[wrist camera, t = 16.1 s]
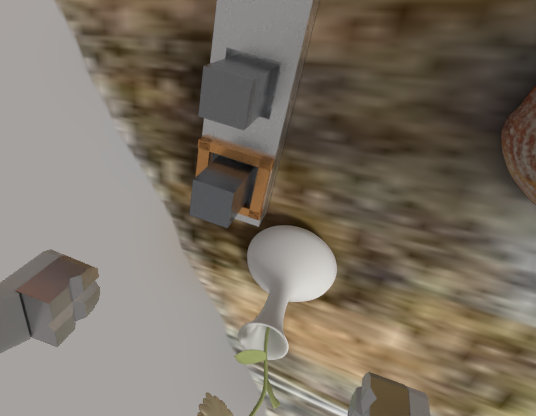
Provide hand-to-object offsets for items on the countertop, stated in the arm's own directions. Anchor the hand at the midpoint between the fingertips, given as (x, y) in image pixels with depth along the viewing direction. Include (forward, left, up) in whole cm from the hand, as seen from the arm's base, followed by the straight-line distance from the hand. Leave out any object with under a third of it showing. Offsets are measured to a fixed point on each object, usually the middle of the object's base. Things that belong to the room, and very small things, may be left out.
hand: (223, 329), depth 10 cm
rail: (+8, 0, -29) cm, 30 cm away
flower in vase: (-1, +21, -29) cm, 36 cm away
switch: (+8, 0, -28) cm, 29 cm away
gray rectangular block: (+8, +10, -28) cm, 30 cm away
